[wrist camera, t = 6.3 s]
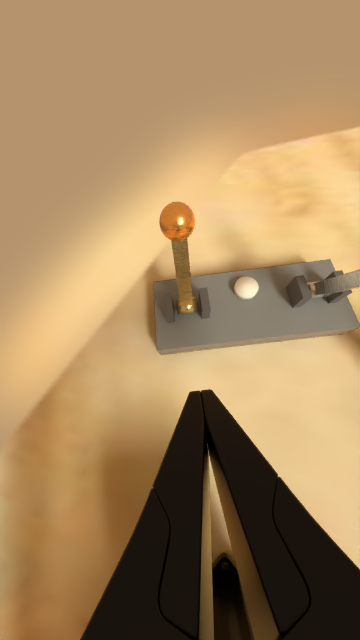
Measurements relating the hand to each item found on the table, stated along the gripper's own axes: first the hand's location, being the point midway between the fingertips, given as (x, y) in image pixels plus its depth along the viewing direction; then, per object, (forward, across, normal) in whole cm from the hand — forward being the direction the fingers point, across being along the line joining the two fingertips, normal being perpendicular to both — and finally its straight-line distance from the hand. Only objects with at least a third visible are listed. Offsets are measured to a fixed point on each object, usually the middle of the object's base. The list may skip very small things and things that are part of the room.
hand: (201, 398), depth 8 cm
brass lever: (+13, 0, +1) cm, 13 cm away
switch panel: (+16, -6, +4) cm, 17 cm away
